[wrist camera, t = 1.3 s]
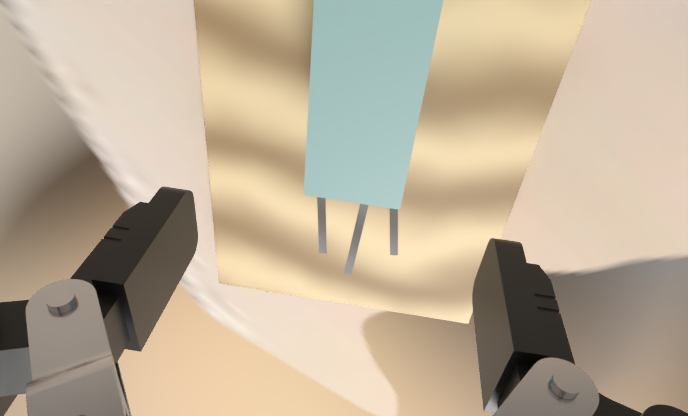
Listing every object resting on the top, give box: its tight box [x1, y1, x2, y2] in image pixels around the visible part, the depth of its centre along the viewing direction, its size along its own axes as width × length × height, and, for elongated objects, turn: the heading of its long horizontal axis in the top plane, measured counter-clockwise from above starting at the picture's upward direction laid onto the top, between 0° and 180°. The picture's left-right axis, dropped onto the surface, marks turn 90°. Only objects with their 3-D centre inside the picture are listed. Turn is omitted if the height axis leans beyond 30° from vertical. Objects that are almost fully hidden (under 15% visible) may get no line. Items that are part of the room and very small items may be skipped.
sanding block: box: [304, 0, 443, 210], centre depth 22 cm, size 9×4×6 cm, turn 175°
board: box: [194, 0, 591, 324], centre depth 29 cm, size 22×18×2 cm
